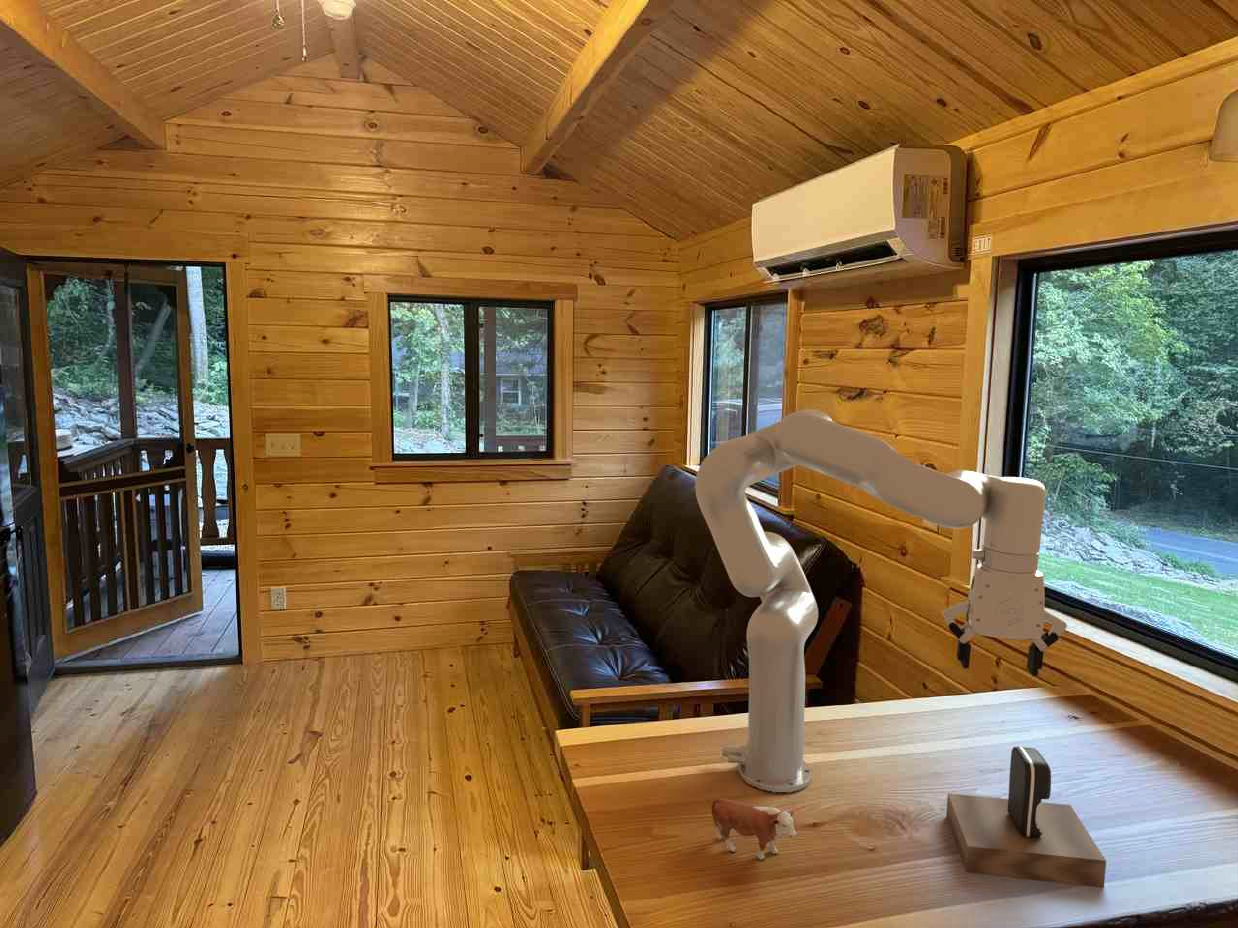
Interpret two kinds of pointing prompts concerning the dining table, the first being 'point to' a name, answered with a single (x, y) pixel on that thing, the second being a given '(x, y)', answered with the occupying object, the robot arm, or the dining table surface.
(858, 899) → the dining table surface
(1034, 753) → the battery charger
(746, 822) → the bull figurine
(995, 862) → the walnut base
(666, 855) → the dining table surface
